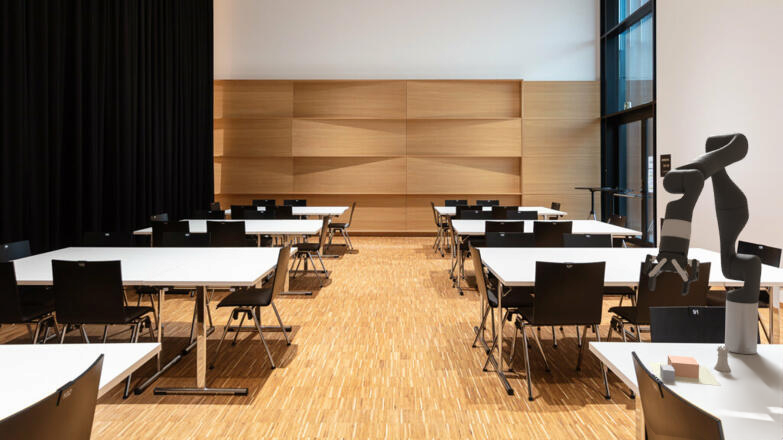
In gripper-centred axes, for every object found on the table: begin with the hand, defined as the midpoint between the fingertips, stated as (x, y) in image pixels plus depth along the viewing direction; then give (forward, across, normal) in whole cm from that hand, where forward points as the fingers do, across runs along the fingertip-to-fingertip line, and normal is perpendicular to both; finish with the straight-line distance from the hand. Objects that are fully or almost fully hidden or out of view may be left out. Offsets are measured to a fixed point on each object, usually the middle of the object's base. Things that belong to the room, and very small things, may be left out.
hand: (667, 292), depth 152 cm
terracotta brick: (+22, -2, -15) cm, 27 cm away
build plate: (+23, -2, -15) cm, 28 cm away
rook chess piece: (+20, -9, -27) cm, 35 cm away
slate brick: (+24, 0, -8) cm, 25 cm away
